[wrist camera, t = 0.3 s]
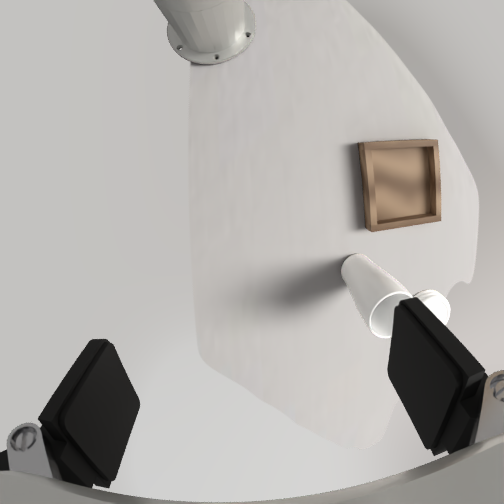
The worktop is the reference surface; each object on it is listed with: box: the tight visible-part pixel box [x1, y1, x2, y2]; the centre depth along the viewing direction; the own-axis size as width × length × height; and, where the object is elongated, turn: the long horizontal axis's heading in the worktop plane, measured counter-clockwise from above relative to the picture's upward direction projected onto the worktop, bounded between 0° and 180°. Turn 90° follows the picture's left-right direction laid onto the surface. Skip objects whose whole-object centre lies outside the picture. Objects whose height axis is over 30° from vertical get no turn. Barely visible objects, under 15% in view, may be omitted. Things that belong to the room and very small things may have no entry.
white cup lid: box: [414, 290, 450, 325], centre depth 49 cm, size 10×10×4 cm
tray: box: [358, 139, 441, 232], centre depth 41 cm, size 13×13×2 cm
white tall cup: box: [341, 254, 413, 338], centre depth 40 cm, size 7×7×15 cm
